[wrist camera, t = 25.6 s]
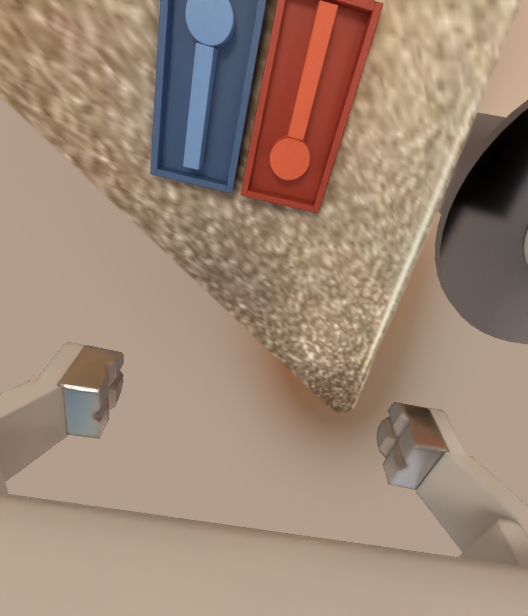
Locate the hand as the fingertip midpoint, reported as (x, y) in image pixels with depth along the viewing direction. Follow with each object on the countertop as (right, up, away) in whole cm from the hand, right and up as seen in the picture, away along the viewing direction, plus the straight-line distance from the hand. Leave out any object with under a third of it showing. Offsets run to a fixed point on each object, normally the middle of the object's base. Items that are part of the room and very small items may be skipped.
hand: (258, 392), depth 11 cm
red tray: (+3, +20, +22) cm, 30 cm away
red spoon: (+3, +20, +21) cm, 29 cm away
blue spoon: (-5, +22, +20) cm, 30 cm away
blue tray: (-5, +22, +21) cm, 31 cm away
